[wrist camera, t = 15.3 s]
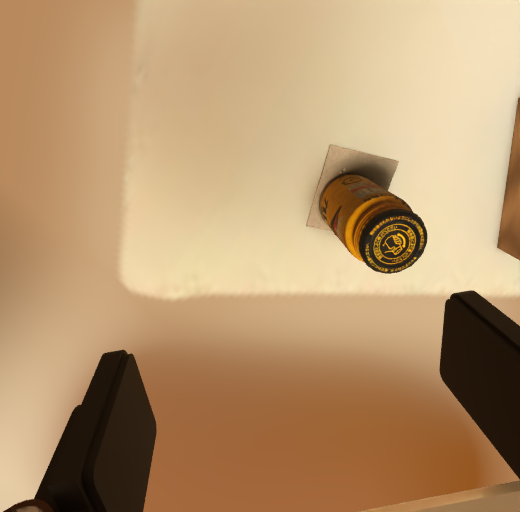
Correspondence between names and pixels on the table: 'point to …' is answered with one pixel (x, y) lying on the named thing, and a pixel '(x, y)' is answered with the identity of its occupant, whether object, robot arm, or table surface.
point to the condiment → (367, 211)
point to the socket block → (512, 199)
